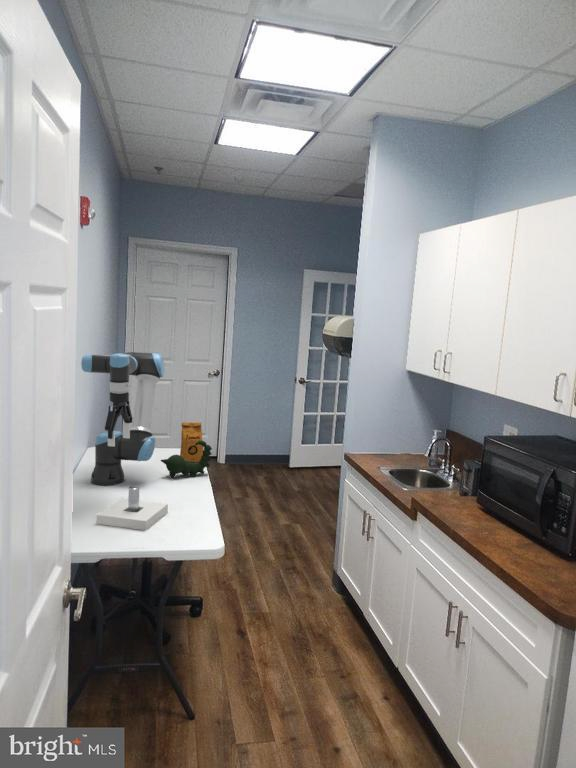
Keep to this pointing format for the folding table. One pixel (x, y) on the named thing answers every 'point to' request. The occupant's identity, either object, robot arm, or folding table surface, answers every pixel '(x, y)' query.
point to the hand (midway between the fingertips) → (119, 442)
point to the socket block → (132, 514)
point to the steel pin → (133, 499)
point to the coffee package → (191, 442)
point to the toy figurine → (188, 463)
